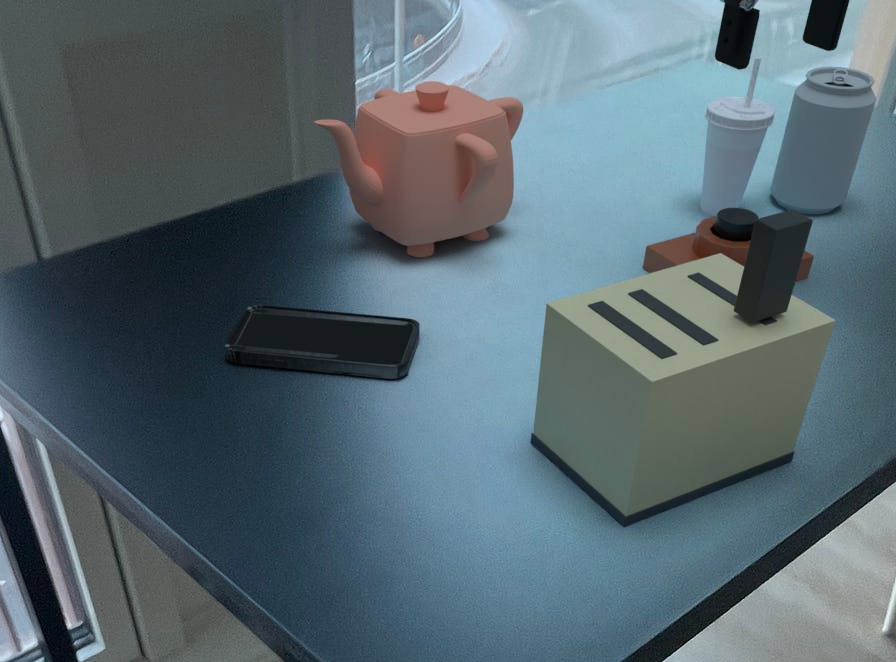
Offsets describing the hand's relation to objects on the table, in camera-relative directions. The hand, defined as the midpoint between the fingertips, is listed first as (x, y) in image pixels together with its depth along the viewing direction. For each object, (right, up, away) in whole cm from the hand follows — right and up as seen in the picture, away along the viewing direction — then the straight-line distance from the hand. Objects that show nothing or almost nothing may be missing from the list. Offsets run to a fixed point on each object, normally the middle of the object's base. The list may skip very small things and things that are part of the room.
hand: (775, 54), depth 80 cm
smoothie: (+2, -3, +23) cm, 23 cm away
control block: (0, -13, +13) cm, 18 cm away
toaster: (-11, -33, -6) cm, 35 cm away
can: (+12, -1, +24) cm, 27 cm away
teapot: (-28, -7, +19) cm, 34 cm away
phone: (-36, -22, +4) cm, 43 cm away
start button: (0, -10, +11) cm, 15 cm away
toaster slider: (-6, -25, -15) cm, 30 cm away
